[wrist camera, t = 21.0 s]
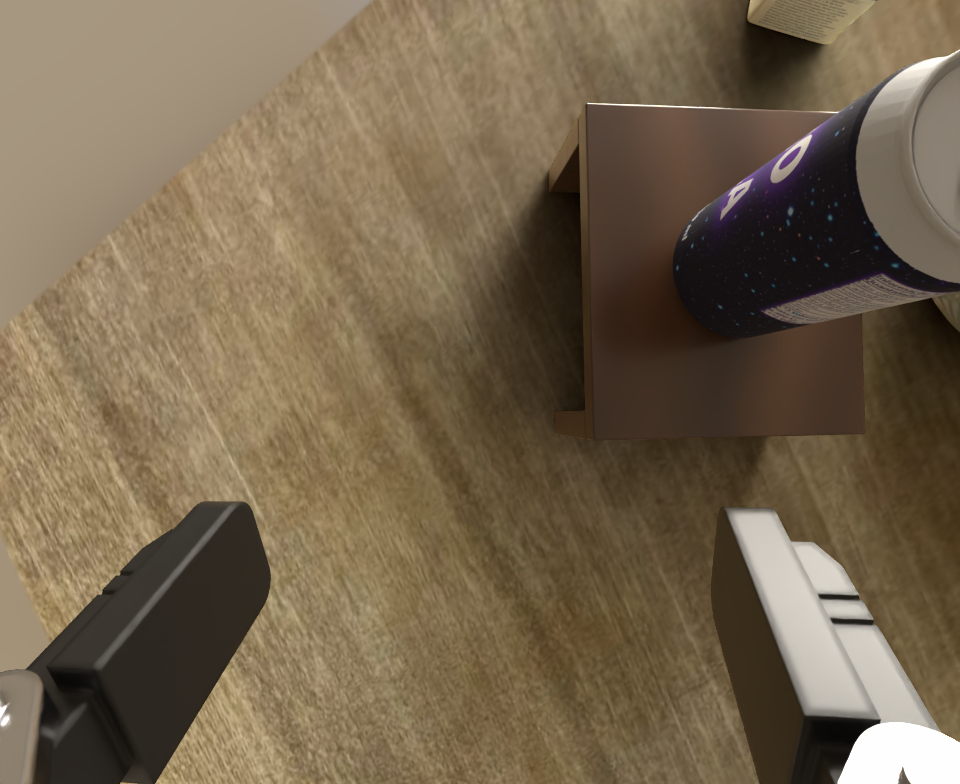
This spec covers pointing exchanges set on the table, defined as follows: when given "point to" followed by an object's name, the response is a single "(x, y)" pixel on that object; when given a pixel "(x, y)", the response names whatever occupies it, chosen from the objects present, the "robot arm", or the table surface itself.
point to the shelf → (653, 295)
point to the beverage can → (837, 216)
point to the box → (807, 17)
